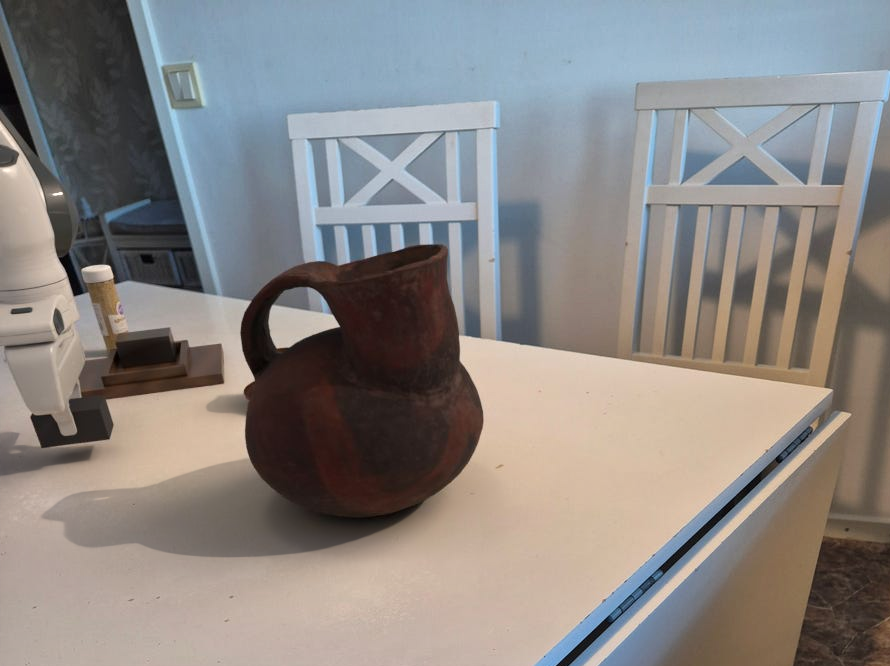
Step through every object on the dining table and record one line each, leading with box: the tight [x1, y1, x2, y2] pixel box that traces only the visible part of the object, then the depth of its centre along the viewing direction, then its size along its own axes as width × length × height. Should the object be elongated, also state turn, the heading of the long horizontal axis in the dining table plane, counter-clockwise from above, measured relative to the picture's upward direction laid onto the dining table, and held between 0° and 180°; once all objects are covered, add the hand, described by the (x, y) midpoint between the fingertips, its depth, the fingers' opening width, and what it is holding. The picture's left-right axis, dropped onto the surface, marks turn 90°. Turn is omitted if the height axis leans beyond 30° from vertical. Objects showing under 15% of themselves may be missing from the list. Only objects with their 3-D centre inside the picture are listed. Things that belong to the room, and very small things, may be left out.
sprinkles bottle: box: [80, 264, 130, 355], centre depth 138 cm, size 5×5×14 cm
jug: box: [239, 243, 485, 518], centre depth 86 cm, size 25×25×25 cm
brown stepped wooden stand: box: [78, 326, 225, 400], centre depth 129 cm, size 22×16×6 cm
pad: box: [29, 395, 115, 449], centre depth 104 cm, size 8×5×4 cm, turn 104°
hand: (74, 423), depth 104 cm, fingers closed on pad, 5 cm apart
